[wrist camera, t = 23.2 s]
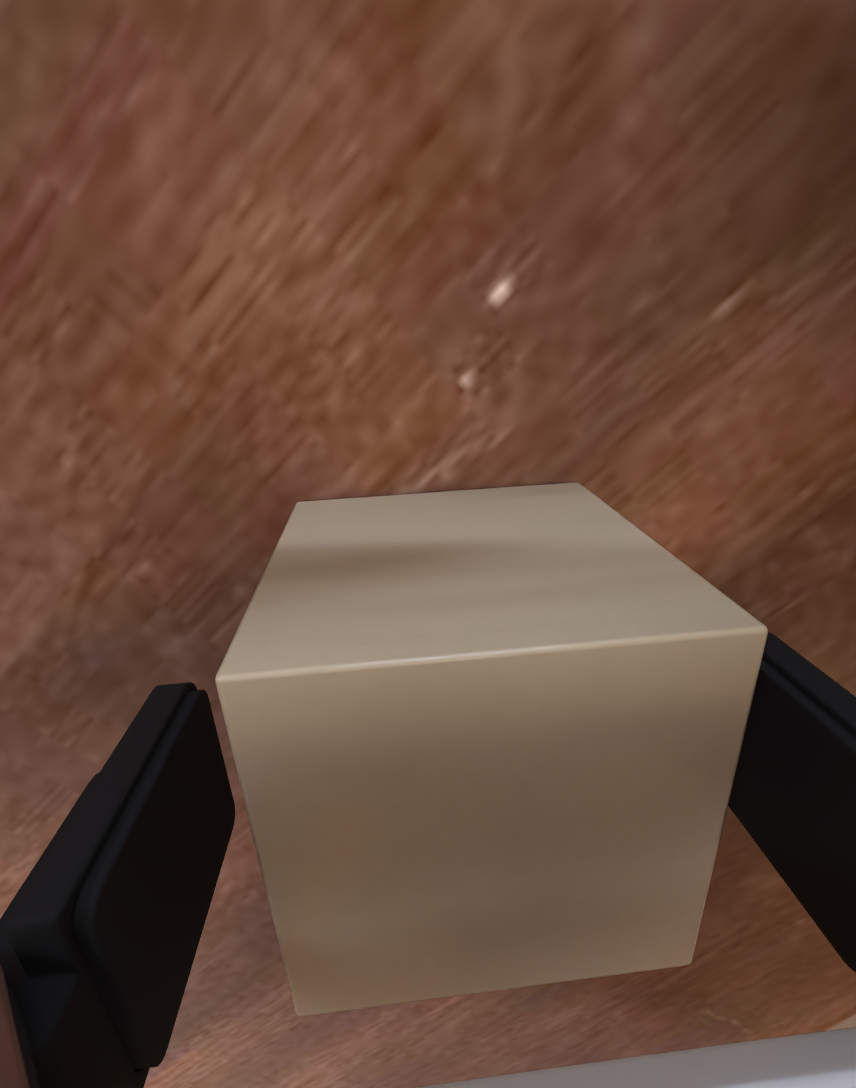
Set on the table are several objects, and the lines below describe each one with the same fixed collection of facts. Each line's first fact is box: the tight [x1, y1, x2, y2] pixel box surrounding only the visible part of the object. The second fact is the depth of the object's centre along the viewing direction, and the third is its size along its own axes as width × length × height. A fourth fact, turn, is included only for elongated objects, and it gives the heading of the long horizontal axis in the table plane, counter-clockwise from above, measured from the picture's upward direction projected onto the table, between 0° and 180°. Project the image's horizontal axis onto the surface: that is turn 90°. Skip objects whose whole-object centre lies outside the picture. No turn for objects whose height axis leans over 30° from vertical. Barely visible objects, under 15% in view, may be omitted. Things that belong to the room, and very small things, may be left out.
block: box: [215, 482, 768, 1016], centre depth 9 cm, size 6×6×6 cm
